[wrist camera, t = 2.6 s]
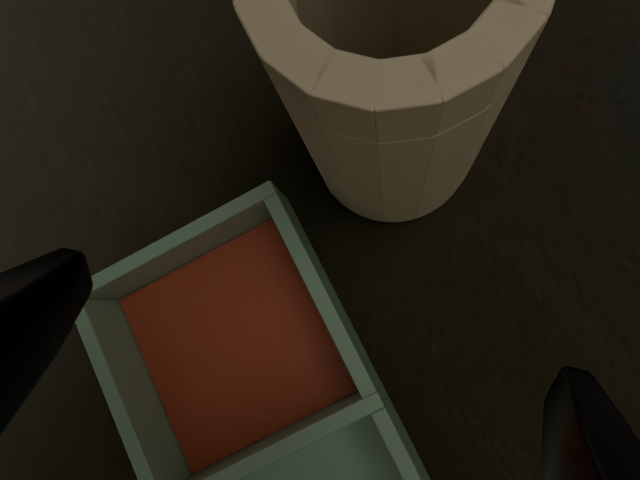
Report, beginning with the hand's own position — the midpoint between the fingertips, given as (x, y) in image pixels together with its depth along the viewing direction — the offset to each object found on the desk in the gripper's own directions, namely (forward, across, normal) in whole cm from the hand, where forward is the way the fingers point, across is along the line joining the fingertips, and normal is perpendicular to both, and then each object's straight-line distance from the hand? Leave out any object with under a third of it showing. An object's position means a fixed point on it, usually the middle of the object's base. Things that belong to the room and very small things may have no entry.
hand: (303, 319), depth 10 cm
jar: (+15, 0, +4) cm, 15 cm away
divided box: (+5, +2, +13) cm, 15 cm away
